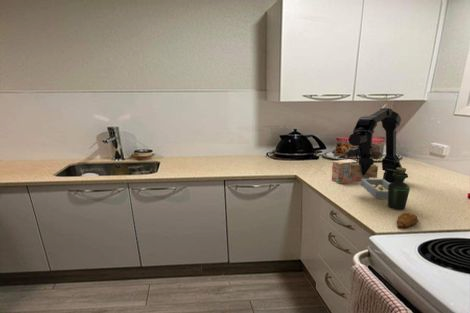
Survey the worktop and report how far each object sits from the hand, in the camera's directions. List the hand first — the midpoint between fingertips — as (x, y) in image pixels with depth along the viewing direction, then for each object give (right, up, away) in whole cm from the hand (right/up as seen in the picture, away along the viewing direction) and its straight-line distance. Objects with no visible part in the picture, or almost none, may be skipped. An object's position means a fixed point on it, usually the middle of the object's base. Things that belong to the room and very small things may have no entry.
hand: (362, 173), depth 128 cm
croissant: (+3, -18, -28) cm, 34 cm away
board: (0, -1, 0) cm, 1 cm away
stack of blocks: (+5, -6, +25) cm, 26 cm away
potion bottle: (+8, -14, -13) cm, 21 cm away
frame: (+12, -10, +6) cm, 16 cm away
